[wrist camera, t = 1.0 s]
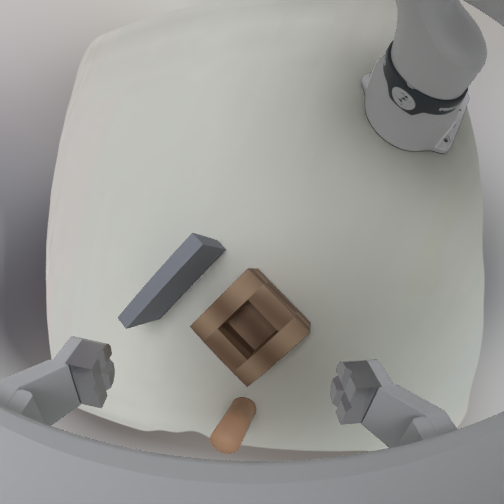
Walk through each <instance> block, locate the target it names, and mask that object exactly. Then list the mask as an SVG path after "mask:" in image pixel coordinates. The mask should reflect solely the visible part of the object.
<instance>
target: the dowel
mask: <svg viewBox="0 0 504 504" xmlns="http://www.w3.org/2000/svg"><path fill="white" fill-rule="evenodd" d="M255 411H256V407H255V404H254V403H253V402H252V401H251V400H250V399H248V398H243V397H241V398H237V399H235V400H234V401H233V403H232V404H231V406H230V407H229V409H228V410H227V412H226V413H225V415H224V416H223V418H222V420H221V421H220V423H219V424H218V426H217V427H216V429H215V430H214V432H213V433H212V435H211V437H210V441H211V444H212V446H213V447H214V448H215V449H216V450H218V451H220V452H222V453H234V452H236V451H237V450H238V449H239V447H240V445H241V443H242V441H243V438H244V436H245V434H246V432H247V430H248V427H249V425H250V423H251V421H252V418H253V416H254V414H255Z"/></svg>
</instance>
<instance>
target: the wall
mask: <svg viewBox="0 0 504 504" xmlns="http://www.w3.org/2000/svg"><path fill="white" fill-rule="evenodd" d="M225 250H226V249H225V248H224V247H223V246H222V245H221V244H220V243H219V242H218V241H217V240H215V239H211V238H208V237H205V236H201V235H198V234H195V233H192V234H191V235H190V236H189V237H188V238H187V239H186V240H185V241H184V243H183V244H182V245H181V246H180V247H179V248H178V249H177V250H176V251H175V252H174V253H173V255H172V256H171V257H170V258H169V259H168V260H167V261H166V262H165V263H164V265H163V266H162V267H161V268H160V269H159V270H158V271H157V272H156V274H155V275H154V276H153V277H152V278H151V279H150V280H149V282H148V283H147V284H146V285H145V286H144V287H143V288H142V290H141V291H140V292H139V293H138V294H137V295H136V297H135V298H134V299H133V300H132V301H131V302H130V304H129V305H128V306H127V307H126V308H125V309H124V311H123V312H122V313H121V314H120V315H119V317H118V319H119V320H120V321H121V323H122V324H123V325H124V327H125V328H126V329H127V328H131V327H134V326H137V325H141V324H144V323H147V322H151V321H154V320H157V319H160V318H161V317H162V316H163V315H164V314H165V313H166V312H167V310H168V309H169V308H170V307H171V306H172V305H173V304H174V303H175V302H176V301H177V300H178V299H179V298H180V297H181V296H182V295H183V294H184V293H185V291H186V290H187V289H188V288H189V287H190V286H191V285H192V284H193V283H194V282H195V281H196V280H197V279H198V278H199V277H200V276H201V275H202V274H203V273H204V272H205V271H206V270H207V268H208V267H209V266H210V265H211V264H212V263H213V262H214V261H215V260H216V259H217V258H218V257H219V256H220V255H221V254H222V253H223V252H224V251H225Z"/></svg>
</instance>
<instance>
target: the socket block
mask: <svg viewBox="0 0 504 504" xmlns="http://www.w3.org/2000/svg"><path fill="white" fill-rule="evenodd" d="M190 327H191V328H192V329H193V331H194V332H195V333H196V334H197V335H198V336H199V337H200V338H201V339H202V340H203V342H204V343H205V344H206V345H207V346H208V347H209V348H210V349H211V350H212V351H213V352H214V353H215V354H216V355H217V357H218V358H219V359H220V360H221V361H222V362H223V363H224V364H225V365H226V366H227V367H228V368H229V369H230V370H231V371H232V372H233V373H234V374H235V375H236V376H237V377H238V378H239V379H240V380H241V381H242V382H243V383H244V384H245V385H246V386H247V387H248V386H249V385H250V384H251V383H253V382H254V381H255V380H256V379H257V378H259V377H260V376H261V375H262V374H263V373H265V372H266V371H267V370H268V369H269V368H270V367H272V366H273V365H274V364H275V363H276V362H277V361H279V360H280V359H281V358H282V357H283V356H284V355H285V354H287V353H288V352H289V351H290V350H291V349H292V348H293V347H294V346H296V345H297V344H298V343H299V342H300V341H301V340H302V339H303V338H304V337H305V336H307V335H308V334H309V333H310V322H309V321H308V320H307V319H306V317H305V316H304V315H303V314H302V313H301V312H300V311H299V310H298V309H297V308H296V307H295V306H294V305H293V304H292V303H291V302H290V301H289V300H288V299H287V298H286V297H285V296H284V295H283V294H282V293H281V292H280V291H279V290H278V289H277V288H276V287H275V286H274V285H273V284H272V283H271V282H270V281H269V280H268V278H267V277H266V276H265V275H264V274H263V273H262V272H261V271H260V270H259V269H247V270H246V271H245V272H244V273H243V274H242V275H241V276H240V277H239V278H238V279H237V280H236V281H235V282H234V283H233V284H232V285H231V286H230V287H229V288H228V289H227V290H226V291H225V292H224V293H223V294H222V295H221V296H220V297H219V298H218V299H217V300H216V301H215V302H214V303H213V304H212V305H211V306H210V307H209V308H208V309H207V310H206V311H205V312H204V313H203V314H202V315H201V316H200V317H199V318H198V319H197V320H196V321H195V322H194V323H193V324H192V325H191V326H190Z"/></svg>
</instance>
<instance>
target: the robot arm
mask: <svg viewBox="0 0 504 504" xmlns="http://www.w3.org/2000/svg"><path fill="white" fill-rule="evenodd" d="M464 1H466V2H467V3H469V4H471V5H472V6H474V7H476V8H477V9H479V10H480V11H482V12H483V13H485V14H486V15H488V16H489V17H491V18H492V19H494V20H495V21H497V22H498V23H500V24H501V25H502V26H504V0H464ZM396 3H397V8H398V19H397V27H396V32H395V37H394V40H393V41H392V42H391V44H390V45H389V48H388V49H387V51H386V54H385V55H384V56H383V58H381V59H377V60H376V62H375V65H374V67H373V70H372V72H370V73H368V74H366V75H364V76H363V77H362V79H361V84H362V87H363V89H364V92H365V110H366V114H367V117H368V119H369V121H370V123H371V125H372V127H373V128H374V129H375V131H376V132H377V133H378V134H379V135H380V136H381V137H382V138H383V139H385V140H386V141H387V142H389V143H390V144H392V145H394V146H396V147H398V148H401V149H404V150H408V151H424V150H432V151H435V152H438V153H447V152H448V150H449V149H450V146H451V144H452V142H453V139H454V137H455V135H456V132H457V130H458V127H459V125H460V122H461V120H462V117H463V115H464V112H465V110H466V107H467V104H468V101H469V95H468V93H467V91H468V86H469V85H470V84H471V82H472V81H473V80H474V78H475V77H476V75H477V74H478V73H479V71H480V70H481V69H482V67H483V66H484V64H485V61H486V57H487V48H486V43H485V40H484V37H483V35H482V33H481V30H480V28H479V27H478V25H477V23H476V22H475V21H474V19H473V18H472V17H471V16H470V14H469V13H468V12H467V11H466V10H465V8H464V7H463V6H462V4H461V3H460V1H459V0H396ZM444 139H445V140H446V142H445V141H444ZM111 354H112V352H111V347H110V345H109V344H106V343H102V342H97V341H92V340H88V339H83V338H78V337H74V336H73V337H70V338H69V340H68V341H67V342H66V343H65V345H64V346H63V347H62V349H61V350H60V351H59V353H58V354H57V355H56V357H55V358H54V359H53V361H52V360H47V361H45V362H43V363H40V364H38V365H35V366H33V367H30V368H28V369H26V370H23V371H21V372H18V373H16V374H13V375H11V376H8V377H6V378H4V379H1V380H0V504H504V412H502V413H499V414H497V415H495V416H492V417H490V418H487V419H485V420H482V421H480V422H477V423H475V424H472V425H469V426H466V427H464V428H461V429H457V428H456V426H455V425H454V424H453V422H452V421H451V419H450V418H449V416H448V415H447V413H446V412H445V411H444V410H443V409H441V408H439V407H437V406H435V405H433V404H431V403H430V402H428V401H426V400H424V399H422V398H420V397H419V396H417V395H415V394H413V393H411V392H410V391H408V390H406V389H404V388H402V387H401V386H399V385H394V384H393V382H392V380H391V379H390V377H389V376H388V374H387V372H386V371H385V369H384V368H383V366H382V365H381V363H380V362H379V361H378V360H377V359H374V360H365V361H346V362H339V364H338V365H337V368H336V372H337V374H338V375H337V376H336V377H335V378H334V379H333V380H332V383H331V388H330V396H331V400H332V403H333V404H334V405H336V406H337V410H336V414H337V417H338V419H339V422H340V424H353V423H361V424H362V425H363V426H365V427H366V428H367V429H368V430H369V431H370V432H372V433H373V434H374V435H375V436H376V437H377V438H379V439H380V440H381V441H382V442H383V443H385V444H386V445H387V446H388V447H389V448H387V449H382V450H377V451H372V452H366V453H360V454H354V455H346V456H339V457H330V458H320V459H308V460H293V461H228V460H211V459H200V458H190V457H181V456H174V455H166V454H160V453H154V452H148V451H142V450H137V449H132V448H127V447H123V446H118V445H113V444H109V443H105V442H102V441H97V440H94V439H90V438H87V437H83V436H80V435H76V434H73V433H70V432H67V431H64V430H61V429H58V428H55V427H52V426H51V425H53V424H54V423H55V422H57V421H58V420H60V419H61V418H62V417H64V416H65V415H67V414H68V413H70V412H71V411H72V410H74V409H75V408H77V407H78V406H80V405H81V404H85V405H89V406H94V407H98V408H102V407H103V404H104V402H105V400H106V398H107V392H106V390H108V389H109V388H111V386H112V384H113V381H114V375H115V369H114V363H113V362H112V361H111V360H110V359H109V358H110V356H111ZM80 403H81V404H80Z"/></svg>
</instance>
